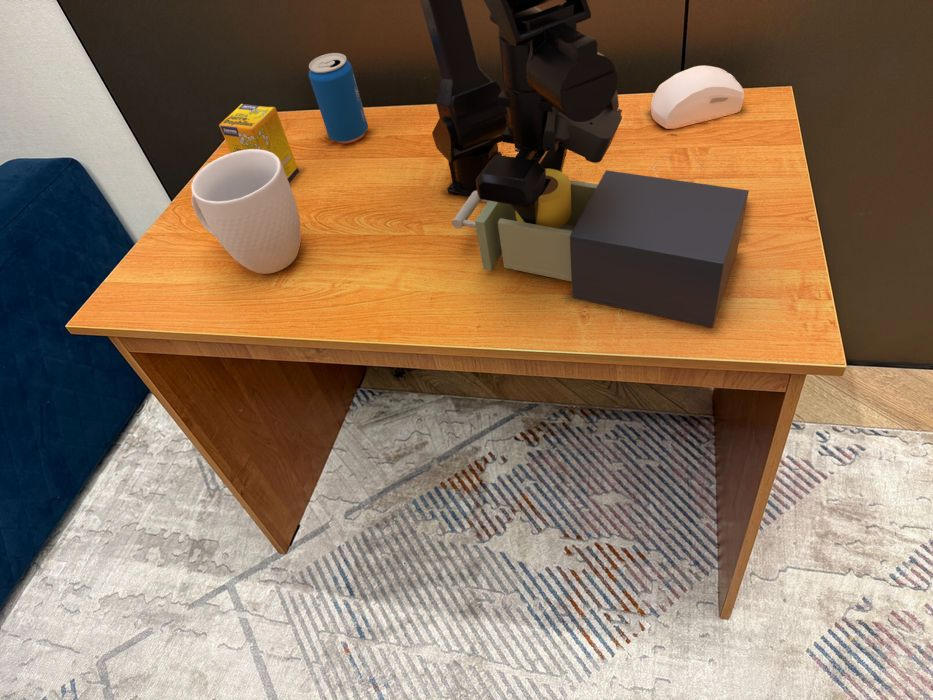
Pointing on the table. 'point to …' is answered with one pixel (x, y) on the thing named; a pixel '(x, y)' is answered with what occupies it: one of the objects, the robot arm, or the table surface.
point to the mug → (249, 209)
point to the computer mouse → (696, 97)
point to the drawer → (524, 235)
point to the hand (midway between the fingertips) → (542, 206)
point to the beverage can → (338, 97)
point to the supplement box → (259, 134)
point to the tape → (554, 201)
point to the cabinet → (657, 246)
